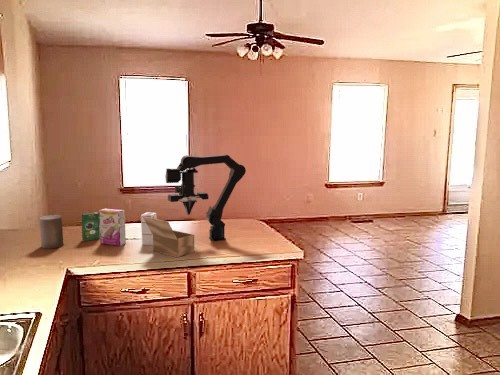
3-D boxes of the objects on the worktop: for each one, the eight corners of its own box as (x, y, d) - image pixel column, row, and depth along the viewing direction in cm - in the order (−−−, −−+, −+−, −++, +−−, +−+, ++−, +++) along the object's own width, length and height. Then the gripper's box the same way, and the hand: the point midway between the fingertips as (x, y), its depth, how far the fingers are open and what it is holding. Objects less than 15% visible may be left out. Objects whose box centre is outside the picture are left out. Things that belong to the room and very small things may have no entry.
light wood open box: (170, 246, 228) (169, 229, 227) (194, 252, 218) (194, 234, 217) (153, 250, 220) (152, 233, 219) (177, 257, 210) (177, 239, 209)
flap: (143, 216, 214) (142, 216, 214) (167, 221, 204) (167, 222, 204) (152, 233, 219) (152, 234, 219) (177, 239, 209) (176, 239, 209)
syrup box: (153, 245, 230) (152, 214, 228) (141, 244, 231) (140, 214, 229) (158, 242, 235) (157, 212, 233) (146, 241, 237) (145, 211, 234)
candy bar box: (99, 244, 231) (98, 210, 229) (106, 241, 236) (104, 208, 233) (120, 246, 228) (118, 211, 225) (126, 243, 232) (125, 209, 230)
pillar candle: (68, 244, 231) (66, 213, 229) (51, 249, 222) (49, 216, 220) (52, 242, 235) (50, 211, 233) (36, 247, 226) (34, 215, 224)
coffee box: (98, 237, 243) (97, 211, 241) (100, 238, 241) (99, 212, 239) (82, 240, 238) (80, 213, 236) (84, 241, 236) (83, 214, 234)
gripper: (200, 179, 244) (201, 210, 247) (163, 181, 236) (164, 213, 239) (208, 182, 234) (209, 214, 237) (170, 184, 226) (171, 217, 229)
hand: (188, 214), depth 235 cm, fingers closed
